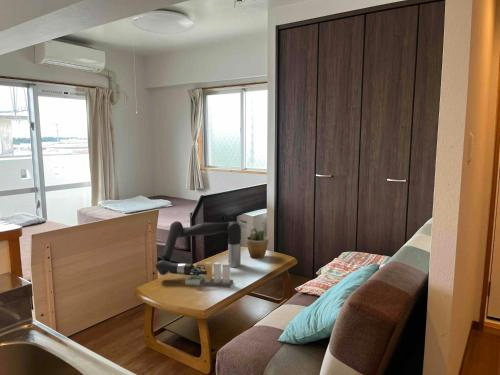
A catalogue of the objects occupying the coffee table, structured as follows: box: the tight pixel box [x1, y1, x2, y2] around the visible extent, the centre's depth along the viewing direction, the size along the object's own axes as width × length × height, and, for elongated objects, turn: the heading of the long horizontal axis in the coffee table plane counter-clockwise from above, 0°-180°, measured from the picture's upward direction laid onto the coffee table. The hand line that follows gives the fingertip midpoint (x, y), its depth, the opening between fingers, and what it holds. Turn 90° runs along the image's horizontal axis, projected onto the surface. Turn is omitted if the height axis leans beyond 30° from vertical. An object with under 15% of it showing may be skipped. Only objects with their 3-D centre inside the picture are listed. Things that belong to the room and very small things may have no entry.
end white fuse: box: [222, 262, 231, 283], centre depth 245 cm, size 3×4×12 cm
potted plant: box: [245, 226, 270, 260], centre depth 303 cm, size 18×19×25 cm
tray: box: [184, 275, 205, 287], centre depth 250 cm, size 10×10×3 cm
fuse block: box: [201, 277, 234, 288], centre depth 247 cm, size 9×19×4 cm, turn 78°
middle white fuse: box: [213, 261, 222, 282], centre depth 246 cm, size 3×4×12 cm
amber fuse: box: [204, 261, 213, 282], centre depth 247 cm, size 3×4×12 cm
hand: (208, 270), depth 247 cm, fingers open, 8 cm apart
